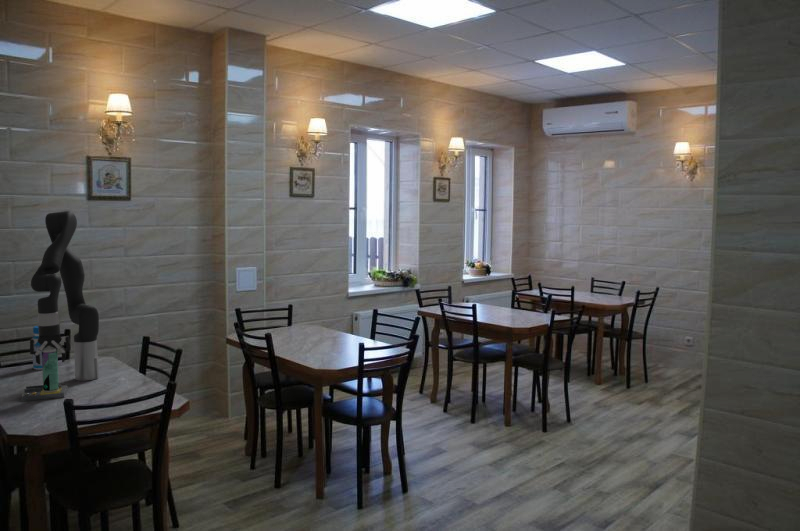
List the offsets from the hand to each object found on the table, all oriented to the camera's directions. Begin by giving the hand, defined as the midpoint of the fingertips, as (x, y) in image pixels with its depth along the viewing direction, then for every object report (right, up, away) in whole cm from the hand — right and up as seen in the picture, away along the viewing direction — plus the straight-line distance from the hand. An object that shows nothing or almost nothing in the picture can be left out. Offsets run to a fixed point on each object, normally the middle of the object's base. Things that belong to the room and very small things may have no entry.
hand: (51, 362), depth 257 cm
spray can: (-1, -12, +1) cm, 12 cm away
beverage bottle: (-29, -10, +46) cm, 55 cm away
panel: (-4, -14, +3) cm, 14 cm away
